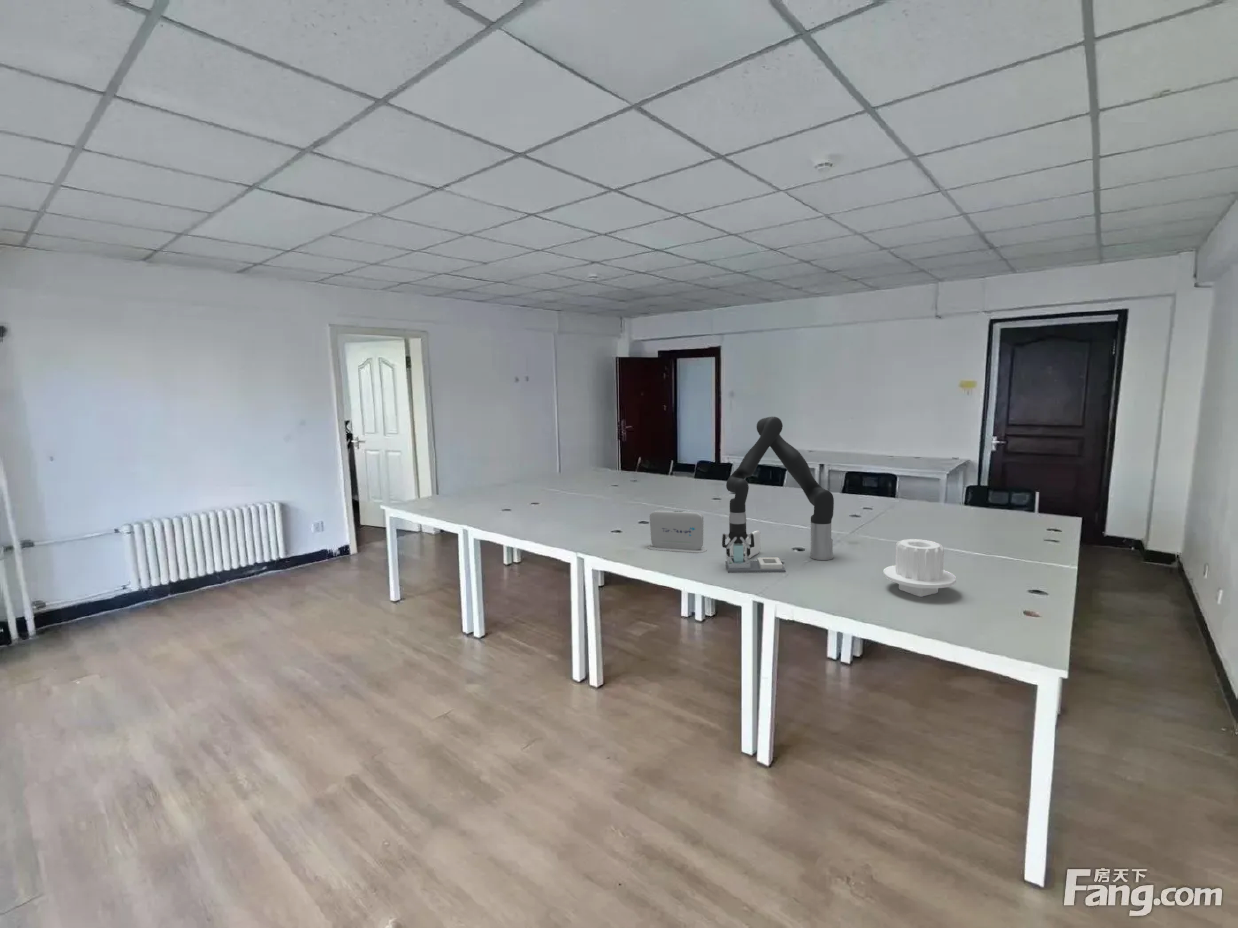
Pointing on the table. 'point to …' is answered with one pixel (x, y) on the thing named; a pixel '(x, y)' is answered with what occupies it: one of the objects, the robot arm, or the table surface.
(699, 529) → the wireless router
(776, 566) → the light grey square tray
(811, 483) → the robot arm
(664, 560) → the table surface
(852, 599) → the table surface
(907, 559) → the flanged gear
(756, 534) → the cable organizer
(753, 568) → the panel base
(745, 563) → the block
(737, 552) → the plug
